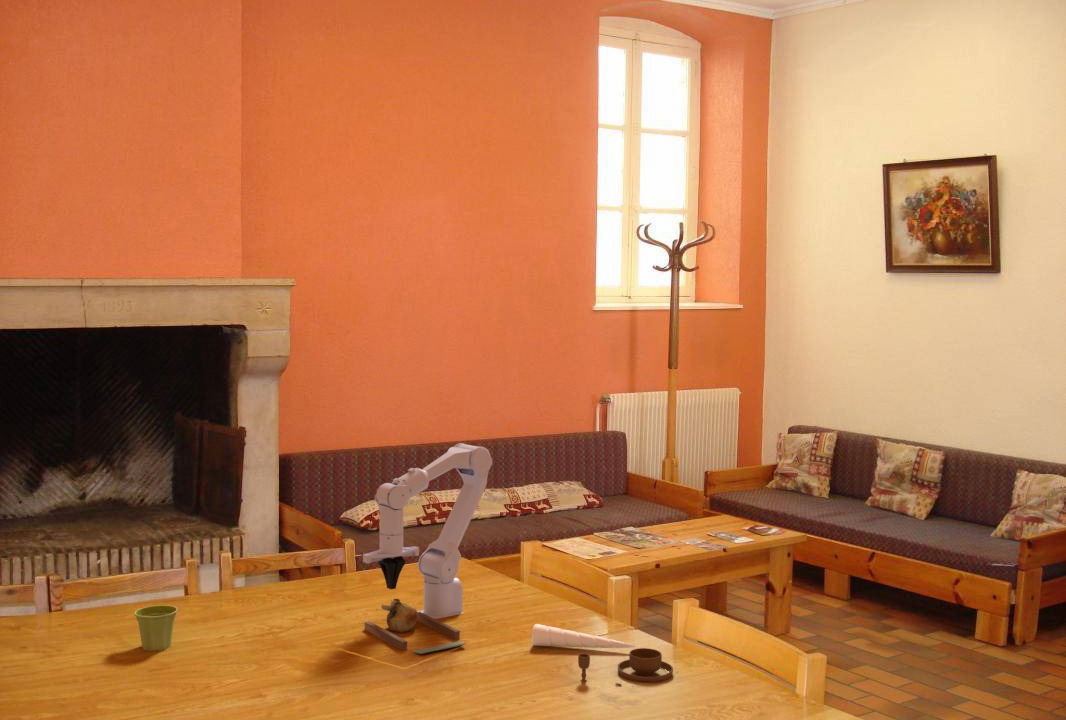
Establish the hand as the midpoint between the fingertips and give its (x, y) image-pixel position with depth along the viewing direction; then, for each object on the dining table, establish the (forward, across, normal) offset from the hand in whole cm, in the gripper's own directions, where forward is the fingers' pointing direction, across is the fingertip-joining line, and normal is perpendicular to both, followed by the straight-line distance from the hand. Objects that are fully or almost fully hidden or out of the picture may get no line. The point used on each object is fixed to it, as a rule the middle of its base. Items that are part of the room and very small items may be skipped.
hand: (391, 588), depth 267 cm
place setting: (+10, -25, +58) cm, 64 cm away
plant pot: (+10, +52, -16) cm, 55 cm away
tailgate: (+9, 0, +20) cm, 22 cm away
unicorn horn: (+14, -30, +43) cm, 54 cm away
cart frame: (+9, 0, +10) cm, 14 cm away
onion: (+10, 0, +5) cm, 11 cm away
